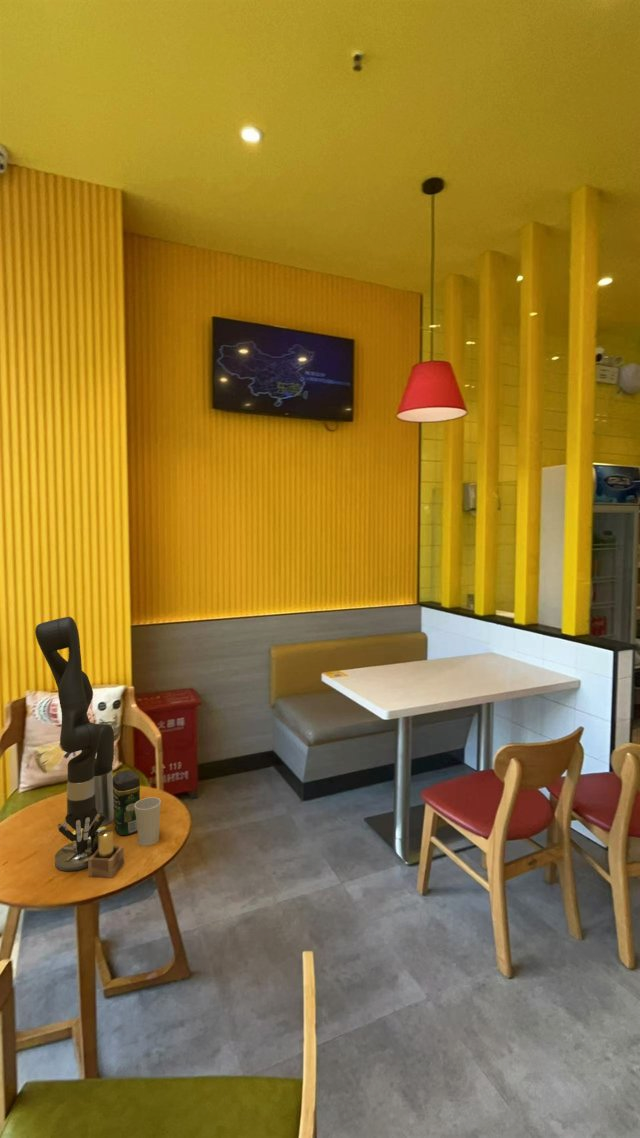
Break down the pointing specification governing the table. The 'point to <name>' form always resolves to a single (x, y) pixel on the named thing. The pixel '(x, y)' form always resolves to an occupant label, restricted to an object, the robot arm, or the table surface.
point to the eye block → (106, 863)
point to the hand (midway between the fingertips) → (82, 851)
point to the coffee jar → (125, 801)
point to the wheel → (75, 855)
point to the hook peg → (105, 843)
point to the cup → (148, 820)
